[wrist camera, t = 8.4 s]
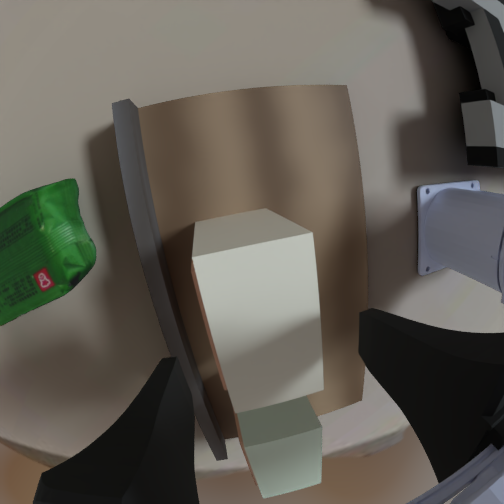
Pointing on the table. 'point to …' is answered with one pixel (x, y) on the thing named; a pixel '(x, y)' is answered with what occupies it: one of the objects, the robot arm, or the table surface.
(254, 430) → the sage carton
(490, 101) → the game console
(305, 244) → the cream carton
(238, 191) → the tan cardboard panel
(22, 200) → the snack package
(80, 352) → the table surface
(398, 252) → the table surface
